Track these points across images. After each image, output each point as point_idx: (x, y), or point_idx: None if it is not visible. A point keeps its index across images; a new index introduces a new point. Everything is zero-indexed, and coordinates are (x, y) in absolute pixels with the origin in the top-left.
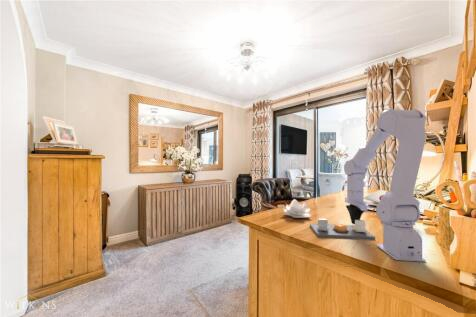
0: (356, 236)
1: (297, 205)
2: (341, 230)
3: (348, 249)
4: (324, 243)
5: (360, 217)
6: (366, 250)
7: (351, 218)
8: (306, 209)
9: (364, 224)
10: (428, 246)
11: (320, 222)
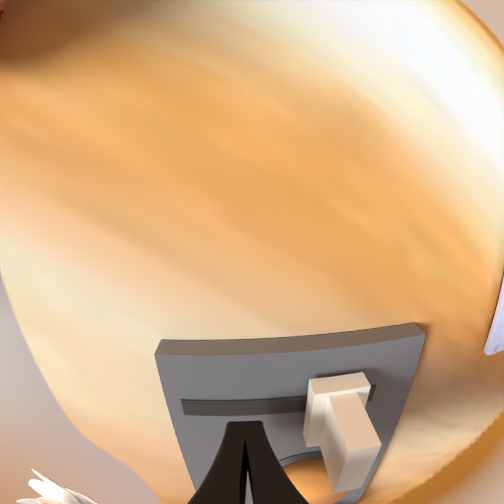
0: (393, 423)
1: None
2: None
3: (456, 437)
4: (399, 487)
5: (284, 472)
6: (481, 391)
7: (245, 490)
8: (42, 500)
9: (368, 424)
10: (460, 39)
11: None
